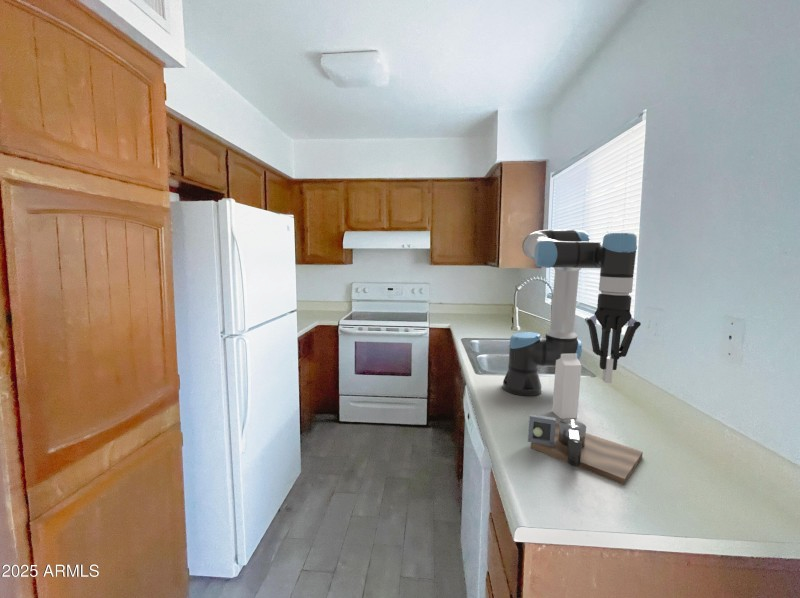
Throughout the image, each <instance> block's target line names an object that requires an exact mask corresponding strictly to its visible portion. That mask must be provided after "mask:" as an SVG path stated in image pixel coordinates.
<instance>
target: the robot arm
mask: <svg viewBox="0 0 800 598" xmlns="http://www.w3.org/2000/svg"><path fill="white" fill-rule="evenodd" d="M637 239H638V237H637V235H636V234H635V233H633V232H607V233H604V234H603V238H602V241H591V238H590V235H589V233H588V232H586V231H585V230H579V229H578V230H577V229H543V230H537V231H534V232H532V233H530V234H528V235H527V236H526V237H525V238H524V239H523V241H522V247H521V248H522V251H523V252H522V253H524V255H525V256H526V257H528V258H529V259H531V260H534V264H535V266H536V267H540V268H548V269H549V268H550V269H551V268H553V269H554V279H553V288H552V289H553V290H552V291H553V292H552V303H551V312H550V313H551V316H550V326H549V327H550V328H549V329H548V330H547V331H546V332H545V337H544V336H541V334H540V333H539V332H531V331H527V332H526V331H524V332H518V333H514V334H512V335H511V336H510V338H509V345H508V348H509V349H508V350H509V351H508V364H507V365H508V366H507V367H508V368H507V371H506V373H505V376H504V379H503V381H502V389H503V390H504V391H506V392H507V393H511V394H513V395H518V396H524V397H526V396H528V397H534V396H538V395H540V394H541V393H542V383H541V379H540V376H539V367H551V368H555V367H556V360H558V359H560V358H561V354H577V358H578V360H579V362H580V360H581V357H582V352H583V348H582V347H583V345H582V341H581V340H580V339H578V335H577V333H576V332H575V331H574V329H575V321H576V320H575V319H576V308H577V299H578V298H577V297H578V287H579V286H578V285H579V276H580V270H581V269H600V271H599V283H598V285H599V286H598V291H599V294H598V295H597V305H596V307H597V308H596V311H595V312H594V315H592V316H590V317H586V318H585V319H584V321H585V323H586V324H587V326H588V331H589V335H590V341H591V348H592V351H593V354H595V355H597V356H599V368H600V369H601V370H602V376H601V377H602V378H601V379H602V381H604V383H606V384H612V380H613V371H616V370H617V368H618V360H620V358H623V357H624V358H626V357H627V355H628V352H629V349H630V347H631V344H632V341H633V339H634V336H635V333H636V331H637V329H639V328H640V326H641V325H642V324H641V322H640V321H638V320H636V319H635V318H633V316H632V314H631V305H632V296H631V293H633V286H634V285H633V284H634V273H635V264H636V255H637V250H638V246H637V243H638V242H637V241H638V240H637ZM597 321H598V323H599V324H600V326H601V337H600V338H601V339H600V340H601V341H599V338H598V331H597V326H596V324H597ZM626 324H627V327H626V330H625V333H624V336H623V337H622V341H621V335H622V332H623V328H624V326H626ZM611 331H612V333H611ZM611 334H612V336H611V344H610V335H611ZM599 342H600V343H599ZM609 345H611V346H610V355H609Z"/></svg>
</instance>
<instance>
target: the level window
mask: <svg viewBox="0 0 800 598" xmlns="http://www.w3.org/2000/svg"><path fill="white" fill-rule="evenodd" d="M528 418H529V419H528V420H529V421H528V435H527V442H529V443H531V442H532V443H537V444H543V445H548V446H553V447H554V439H555V426H556V423H557V418H556V417H552V416H551V417H550V416H544V415H538V414H532V413H529V417H528Z"/></svg>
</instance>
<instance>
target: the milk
mask: <svg viewBox="0 0 800 598" xmlns="http://www.w3.org/2000/svg"><path fill="white" fill-rule="evenodd" d="M554 368H555V369H554V380H553V381H554V383H553V384H554V385H553V395H552V396H553V397H552V398H553V399H552V409H551V412H553V414H555V416H557V417H558V418H559V419H560V420H564V419H570V420H571V419H578V413H579V399H580V388H581V387H580V386H581V377H582V376H581V375H582V364H581V362H580V361H579V360H578V358H577V354H561V358H560V359H558V360H556V367H554Z"/></svg>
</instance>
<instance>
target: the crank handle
mask: <svg viewBox="0 0 800 598" xmlns="http://www.w3.org/2000/svg"><path fill="white" fill-rule="evenodd" d="M559 424H560V425H559V438H558V439H559V441H560V442H561V443H563V444H565V445H567V447H568V461H567V462H568V463H567V462H566V463H567V464H568V465H570V466H571V467H578V466H580V460H581V448H582V447H583V446H584V445H585V436H586V433H587V426H586V424H584V423H583V422H581V421H578V420H575V418H570V419H560V421H559Z"/></svg>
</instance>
